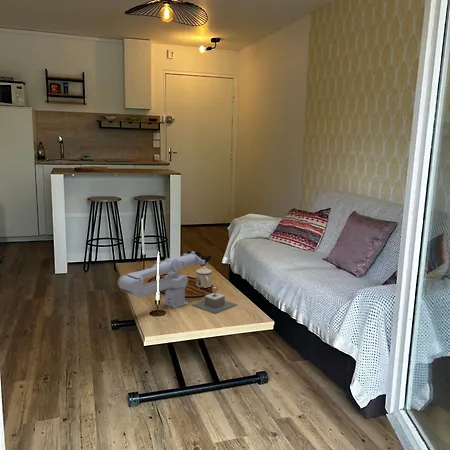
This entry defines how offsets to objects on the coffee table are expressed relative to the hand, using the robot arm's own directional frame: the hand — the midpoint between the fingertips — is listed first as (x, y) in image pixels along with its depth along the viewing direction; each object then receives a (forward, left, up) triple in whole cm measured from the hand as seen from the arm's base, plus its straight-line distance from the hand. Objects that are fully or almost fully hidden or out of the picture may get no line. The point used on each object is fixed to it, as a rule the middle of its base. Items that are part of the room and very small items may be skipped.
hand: (205, 255), depth 236 cm
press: (-8, -14, -21) cm, 27 cm away
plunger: (-8, -14, -18) cm, 24 cm away
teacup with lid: (+9, +9, -21) cm, 25 cm away
